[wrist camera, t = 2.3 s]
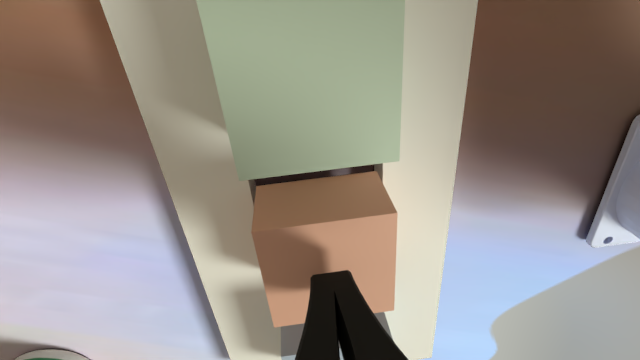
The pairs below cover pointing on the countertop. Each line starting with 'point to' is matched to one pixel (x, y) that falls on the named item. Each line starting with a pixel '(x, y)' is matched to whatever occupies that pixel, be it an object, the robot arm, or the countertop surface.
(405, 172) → the panel
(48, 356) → the supplement bottle
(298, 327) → the slate button
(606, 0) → the countertop surface
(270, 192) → the terracotta button
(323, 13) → the sage button
